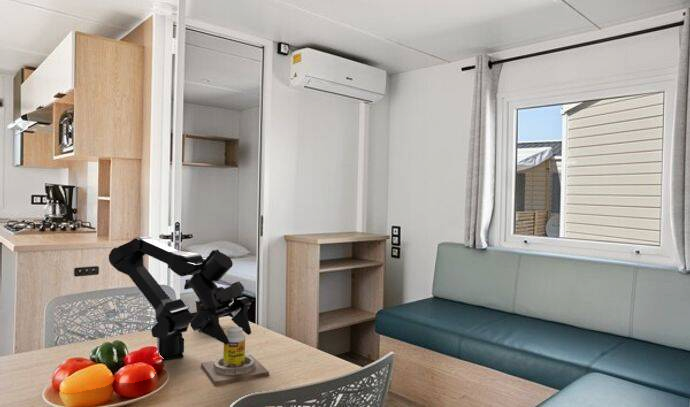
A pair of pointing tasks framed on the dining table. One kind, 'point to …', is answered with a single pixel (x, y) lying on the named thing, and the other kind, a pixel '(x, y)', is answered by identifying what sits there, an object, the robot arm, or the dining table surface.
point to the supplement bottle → (234, 348)
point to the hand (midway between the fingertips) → (239, 338)
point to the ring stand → (233, 371)
